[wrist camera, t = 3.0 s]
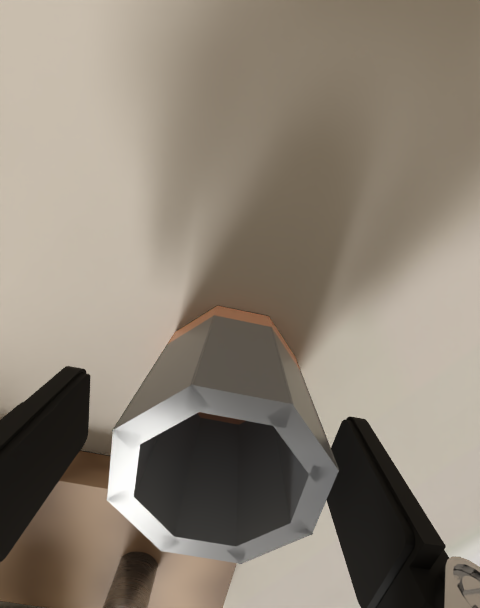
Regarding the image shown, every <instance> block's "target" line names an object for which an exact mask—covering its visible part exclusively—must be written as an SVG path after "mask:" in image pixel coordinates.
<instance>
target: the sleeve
mask: <svg viewBox="0 0 480 608" xmlns="http://www.w3.org/2000/svg"><path fill="white" fill-rule="evenodd" d="M112 431H113V436H112V448H111V459H110V471H109V483H108V494H107V499H106V500H107V501H108V502H110V503H111V504H112V505H113V506H114V507H115V508H116V509H117V510H118V511H119V512H120V513H121V514H122V515H123V516H124V517H125V518H127V519H128V520H129V521H130V522H131V523H132V524H133V525H134V526H135V527H136V528H137V529H138V530H139V531H140V532H141V533H142V534H143V535H145V536H146V537H147V538H148V539H149V540H150V541H151V542H152V543H153V544H154V545H155V546H156V547H157V548H158V549H159V550H160V551H164V552H170V553H176V554H182V555H189V556H195V557H201V558H208V559H214V560H220V561H226V562H233V563H239V564H242V563H244V562H246V561H249V560H251V559H254V558H256V557H258V556H261V555H263V554H266V553H268V552H270V551H273V550H275V549H278V548H280V547H282V546H285V545H287V544H290V543H292V542H295V541H297V540H299V539H302V538H304V537H307V536H309V535H312V534H313V530H314V528H315V526H316V523H317V521H318V519H319V516H320V514H321V512H322V509H323V507H324V504H325V502H326V500H327V497H328V495H329V493H330V490H331V488H332V486H333V483H334V481H335V478H336V476H337V474H338V472H339V468H338V466H337V463H336V461H335V458H334V455H333V453H332V450H331V448H330V445H329V443H328V440H327V437H326V435H325V432H324V430H323V427H322V425H321V422H320V419H319V417H318V414H317V412H316V409H315V407H314V404H313V401H312V399H311V396H310V394H309V391H308V389H307V386H306V383H305V381H304V378H303V376H302V373H301V371H300V368H299V365H298V363H297V360H296V358H295V355H294V354H293V353H292V351H291V350H290V348H289V347H288V345H287V344H286V342H285V341H284V339H283V338H282V336H281V334H280V333H279V331H278V330H277V328H276V327H275V325H274V324H273V322H272V321H271V319H270V317H269V316H265V315H260V314H255V313H251V312H246V311H241V310H236V309H231V308H226V307H222V306H216V307H214V308H213V309H211V310H210V311H208V312H206V313H205V314H203V315H202V316H200V317H198V318H197V319H195V320H194V321H192V322H190V323H189V324H187V325H186V326H184V327H182V328H181V329H179V330H178V331H175V333H174V334H173V336H172V338H171V339H170V341H169V342H168V344H167V345H166V347H165V349H164V350H163V352H162V353H161V355H160V356H159V358H158V360H157V361H156V363H155V364H154V366H153V367H152V369H151V371H150V372H149V374H148V375H147V377H146V378H145V380H144V381H143V383H142V385H141V386H140V388H139V389H138V391H137V392H136V394H135V396H134V397H133V399H132V400H131V402H130V403H129V405H128V407H127V408H126V410H125V411H124V413H123V414H122V416H121V418H120V419H119V421H118V422H117V424H116V425H115V427H114V428H113V430H112Z"/></svg>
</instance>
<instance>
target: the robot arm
mask: <svg viewBox="0 0 480 608" xmlns="http://www.w3.org/2000/svg"><path fill="white" fill-rule="evenodd" d="M89 398H90V375H89V374H86V370H85V369H81V368H75V367H70V366H67V367H65V368H63V369H62V370H61V371H60V372H59V373H58V374H56V375H55V376H54V377H53V378H52V379H51V380H49V381H48V382H47V383H46V384H45V385H43V386H42V387H41V388H40V389H39V390H38V391H36V392H35V393H34V394H33V395H32V396H31V397H29V398H28V399H27V400H26V401H25V402H22V403H21V404H19V405H18V406H17V407H15V408H14V409H13V410H12V411H11V412H9V413H8V414H7V415H6V416H5V417H3V418H2V419H1V420H0V562H2V561H3V560H4V559H5V558H6V557H7V555H8V554H9V553H10V551H11V550H12V548H13V547H14V545H15V544H16V542H17V541H18V539H19V538H20V537H21V535H22V534H23V532H24V531H25V529H26V528H27V526H28V525H29V524H30V522H31V521H32V519H33V518H34V516H35V515H36V513H37V512H38V510H39V509H40V508H41V506H42V505H43V503H44V502H45V500H46V499H47V497H48V496H49V495H50V493H51V492H52V490H53V489H54V487H55V486H56V484H57V483H58V482H59V480H60V479H61V477H62V476H63V474H64V473H65V471H66V470H67V468H68V467H69V466H70V464H71V463H72V461H73V460H74V458H75V457H76V455H77V454H78V453H79V451H80V450H81V448H82V447H83V445H84V444H85V442H86V439H87V436H88V423H89ZM331 450H332V453H333V455H334V458H335V461H336V463H337V466H338V468H339V472H338V474H337V476H336V478H335V481H334V483H333V486H332V488H331V490H330V493H329V495H328V497H327V503H328V506H329V509H330V512H331V516H332V519H333V522H334V525H335V529H336V532H337V535H338V538H339V542H340V545H341V548H342V551H343V555H344V558H345V561H346V564H347V568H348V571H349V574H350V577H351V580H352V584H353V587H354V590H355V593H356V597H357V600H358V602H359V605H360V606H361V608H480V567H479V566H477V565H476V564H474V563H472V562H471V561H469V560H467V559H464V558H461V557H451V558H449V557H448V555H447V554H446V552H445V551H444V549H445V547H446V546H445V544H444V543H443V541H442V540H441V538H440V536H439V535H438V533H437V532H436V530H435V528H434V527H433V525H432V524H431V522H430V520H429V519H428V517H427V516H426V514H425V512H424V511H423V509H422V508H421V506H420V505H419V503H418V501H417V500H416V498H415V497H414V495H413V493H412V492H411V490H410V489H409V487H408V485H407V484H406V482H405V481H404V479H403V477H402V476H401V474H400V473H399V471H398V469H397V468H396V466H395V465H394V463H393V462H392V460H391V458H390V457H389V455H388V454H387V452H386V450H385V449H384V447H383V446H382V444H381V442H380V441H379V439H378V438H377V436H376V434H375V433H374V431H373V430H372V428H371V426H370V425H369V423H368V422H367V421H366V420H365V419H361V418H355V417H348V418H347V419H346V420H343V421H342V423H341V425H340V428H339V430H338V433H337V435H336V437H335V440H334V442H333V445H332V447H331Z"/></svg>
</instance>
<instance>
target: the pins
mask: <svg viewBox="0 0 480 608" xmlns="http://www.w3.org/2000/svg"><path fill="white" fill-rule="evenodd" d="M157 568H158V563H157V561H156V560H155V558H154V557H152V556H151V555H149V554H147V553H144V552H129V553H127V554H125V555H123V556H122V558H121V560H120V562H119V565H118V568H117V570H116V573H115V576H114V579H113V581H112V584H111V587H110V589H109V592H108V595H107V598H106V600H105V603H104V606H103V608H148V604H149V600H150V596H151V592H152V588H153V584H154V580H155V576H156V572H157Z"/></svg>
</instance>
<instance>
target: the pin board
mask: <svg viewBox="0 0 480 608" xmlns="http://www.w3.org/2000/svg"><path fill="white" fill-rule="evenodd" d="M110 459H111V456H106V455H101V454H95V453H89V452H83V451H79V453H78V454H77V455H76V457H75V458H74V460H73V461H72V463H71V464H70V466H69V467H68V468H67V470H66V471H65V473H64V474H63V476H62V477H61V479H60V480H59V482H58V483H57V484H56V486H55V487H54V489H53V490H52V492H51V493H50V495H49V496H48V497H47V499H46V500H45V502H44V503H43V505H42V506H41V508H40V509H39V510H38V512H37V513H36V515H35V516H34V518H33V519H32V521H31V522H30V524H29V525H28V526H27V528H26V529H25V531H24V532H23V534H22V535H21V537H20V538H19V539H18V541H17V542H16V544H15V545H14V547H13V548H12V550H11V551H10V553H9V554H8V555H7V557H6V558H5V559H4V560H3V561H2V562H0V601H4V602H11V603H18V604H25V605H32V606H39V607H46V608H103V606H104V603H105V600H106V598H107V595H108V592H109V589H110V587H111V584H112V581H113V579H114V576H115V573H116V570H117V568H118V565H119V562H120V560H121V558H122V556H123V555H125V554H127V553H129V552H144V553H147V554H149V555H151V556H152V557H154V558H155V560H156V561H157V563H158V568H157V572H156V576H155V580H154V584H153V588H152V592H151V596H150V600H149V604H148V608H223V605H224V601H225V598H226V595H227V592H228V589H229V586H230V582H231V579H232V576H233V573H234V570H235V567H236V563H233V562H226V561H220V560H214V559H208V558H201V557H195V556H189V555H182V554H176V553H170V552H164V551H160V550H159V549H158V548H157V547H156V546H155V545H154V544H153V543H152V542H151V541H150V540H149V539H148V538H147V537H146V536H145V535H143V534H142V533H141V532H140V531H139V530H138V529H137V528H136V527H135V526H134V525H133V524H132V523H131V522H130V521H129V520H128V519H127V518H125V517H124V516H123V515H122V514H121V513H120V512H119V511H118V510H117V509H116V508H115V507H114V506H113V505H112V504H111V503H110V502H108V501H107V500H106V499H107V494H108V483H109V471H110Z"/></svg>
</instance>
